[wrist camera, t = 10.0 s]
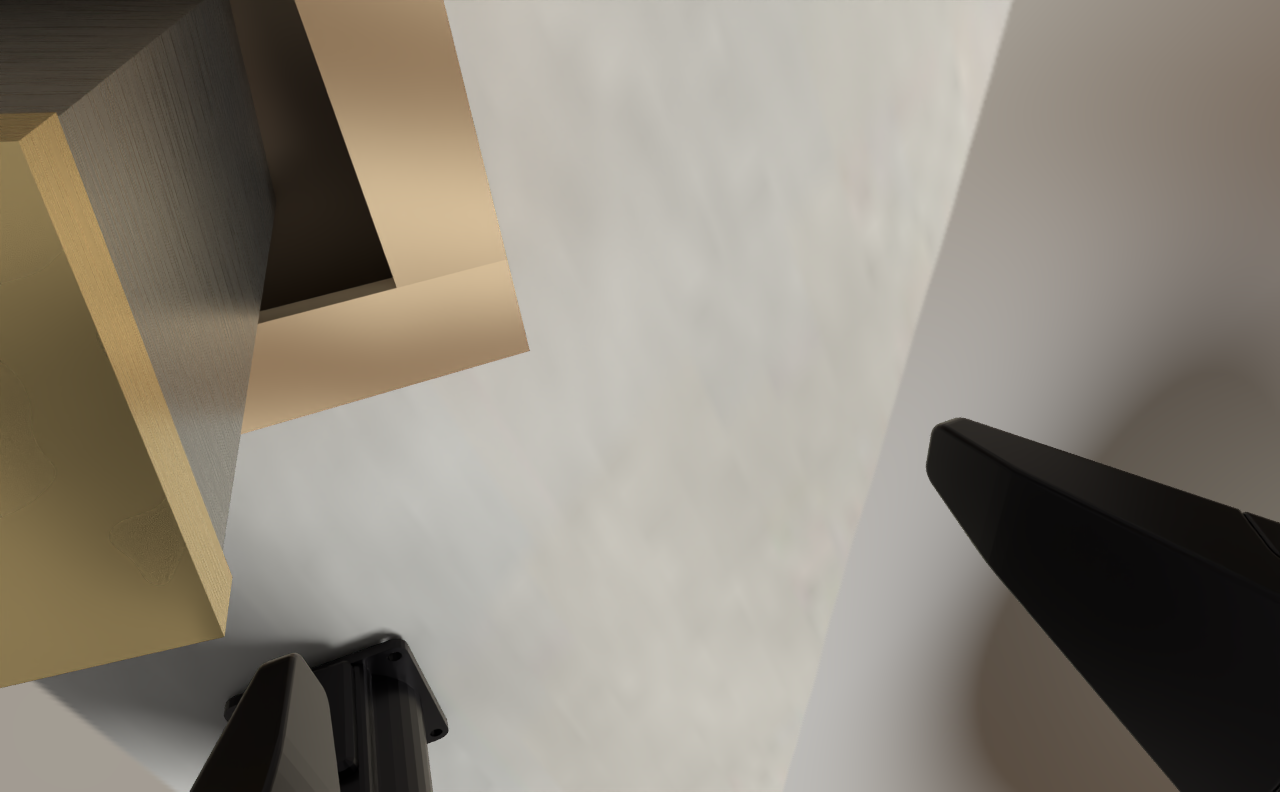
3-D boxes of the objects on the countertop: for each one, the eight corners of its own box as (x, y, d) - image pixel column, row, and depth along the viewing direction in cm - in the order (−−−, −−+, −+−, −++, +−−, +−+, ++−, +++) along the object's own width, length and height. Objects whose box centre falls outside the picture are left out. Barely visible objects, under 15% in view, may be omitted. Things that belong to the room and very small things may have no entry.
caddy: (499, 284, 21) (529, 350, 18) (-2, 417, 18) (-68, 523, 15) (336, -342, 13) (340, -419, 10) (-577, -277, 10) (-955, -354, 7)
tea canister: (282, 205, 17) (224, 636, 7) (46, 220, 16) (-457, 792, 6) (229, -24, 15) (17, 141, 4) (-60, -31, 13) (-1353, 188, 3)
